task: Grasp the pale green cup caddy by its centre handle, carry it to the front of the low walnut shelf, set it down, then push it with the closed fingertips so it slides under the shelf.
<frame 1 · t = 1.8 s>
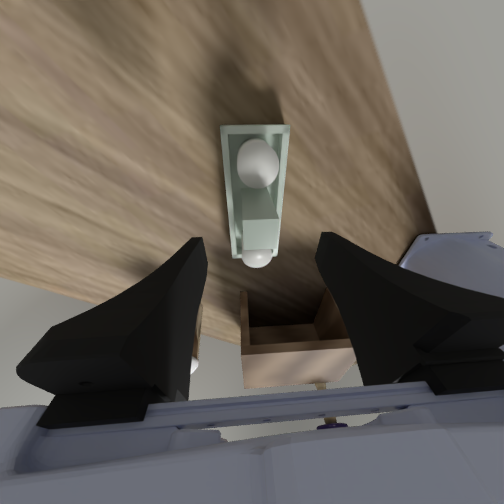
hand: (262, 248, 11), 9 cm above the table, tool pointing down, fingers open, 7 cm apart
shelf: (283, 311, 30), on the table
caddy: (253, 198, 18), on the table
milkshake: (190, 306, 28), on the table
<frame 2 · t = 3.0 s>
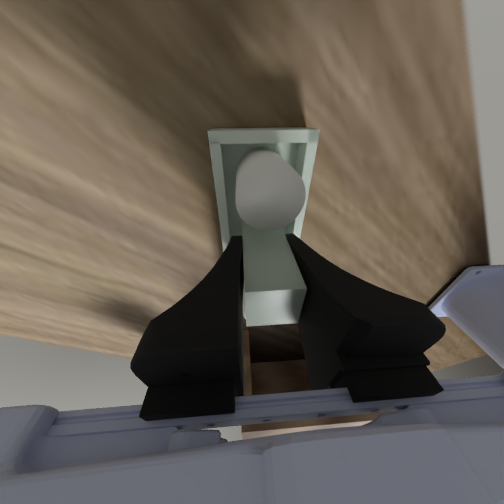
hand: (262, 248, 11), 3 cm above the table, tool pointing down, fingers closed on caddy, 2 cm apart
shelf: (291, 347, 25), on the table
caddy: (258, 227, 13), on the table, touching gripper
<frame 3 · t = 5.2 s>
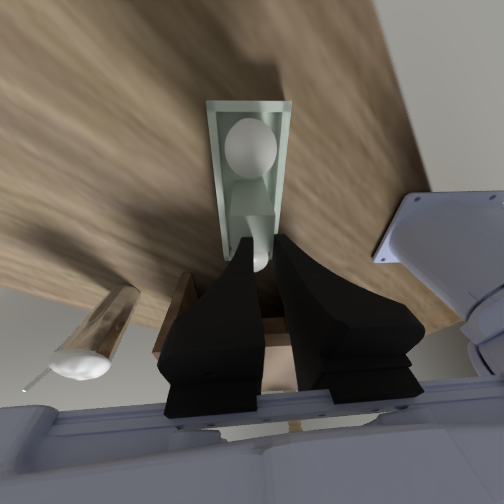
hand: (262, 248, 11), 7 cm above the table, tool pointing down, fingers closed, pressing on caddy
shelf: (243, 300, 24), on the table
caddy: (248, 192, 15), on the table, touching gripper
milkshake: (124, 291, 22), on the table
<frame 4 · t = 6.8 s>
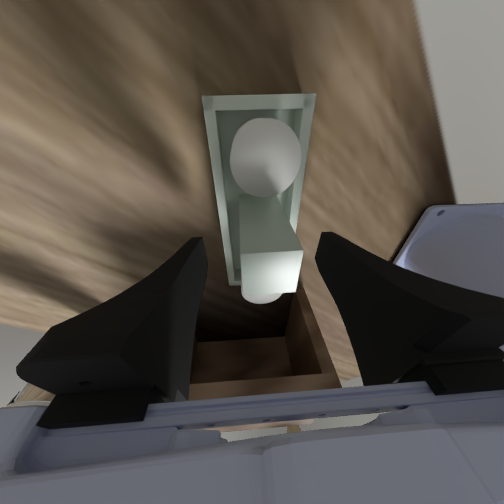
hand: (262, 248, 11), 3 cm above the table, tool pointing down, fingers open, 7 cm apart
shelf: (240, 321, 22), on the table
caddy: (256, 206, 13), on the table
milkshake: (103, 315, 20), on the table
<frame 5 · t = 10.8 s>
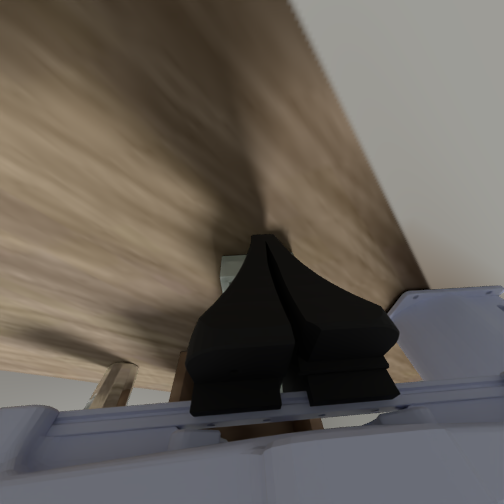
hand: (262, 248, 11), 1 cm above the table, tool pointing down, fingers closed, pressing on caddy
shelf: (243, 366, 24), on the table
caddy: (257, 305, 16), on the table, touching gripper
milkshake: (122, 365, 22), on the table
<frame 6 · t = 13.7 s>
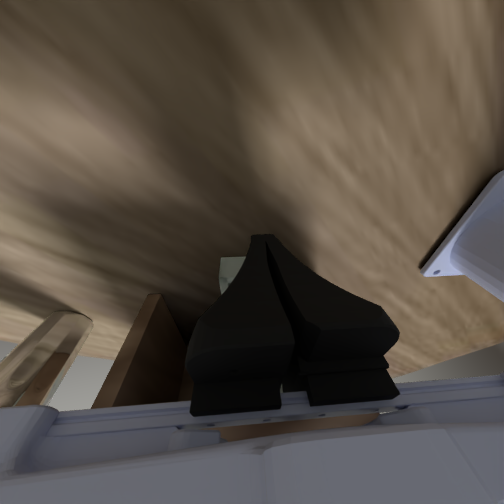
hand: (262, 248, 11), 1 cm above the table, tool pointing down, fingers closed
shelf: (238, 325, 18), on the table
caddy: (255, 307, 16), on the table
milkshake: (69, 319, 16), on the table
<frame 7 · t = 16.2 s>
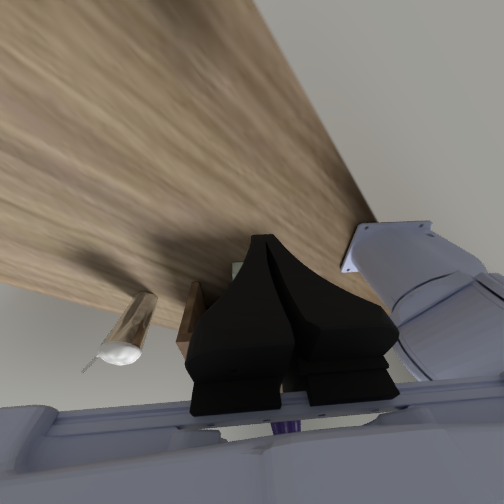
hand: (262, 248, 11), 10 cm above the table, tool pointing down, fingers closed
shelf: (241, 302, 30), on the table
milkshake: (144, 297, 28), on the table
toy lamp: (272, 334, 37), on the table
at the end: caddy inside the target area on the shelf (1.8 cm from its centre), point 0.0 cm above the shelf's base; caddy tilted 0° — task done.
